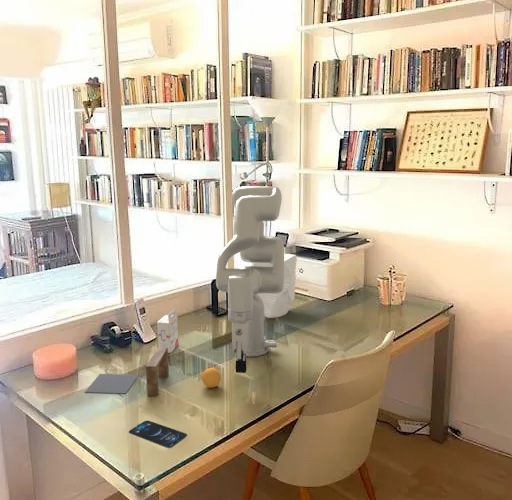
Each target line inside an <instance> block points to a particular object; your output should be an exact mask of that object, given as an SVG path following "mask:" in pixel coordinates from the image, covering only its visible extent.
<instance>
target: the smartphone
mask: <svg viewBox="0 0 512 500" xmlns="http://www.w3.org/2000/svg"><path fill="white" fill-rule="evenodd" d="M128 434H131V435H133V436H136V437H138V438H140V439H144V440H145V441H148V442H151V443H153V444H157V445H159V446H161V447H164V448H167V449H172V448H173V447H174V446H176V445H177V444H179V443H180V442H182V440H184V439H185V438H186V437H187V436H188V434H187V433H186V432H183V431H180V430H178V429H177V430H176V429H175V428H172V427H169V426H165V425H162V424H159V423H157V422H154V421H151V420H144V421H142V422H141V423H139V424H137V425H136V426H134V427H133V428H131V429H129V431H128Z"/></svg>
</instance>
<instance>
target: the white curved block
mask: <svg viewBox="0 0 512 500" xmlns="http://www.w3.org/2000/svg"><path fill="white" fill-rule="evenodd" d="M249 266H261V267H272V264H270V263H252V262H250V264H249ZM296 269H297V254H290V253H284V287H283V290H282V291H281V292H280V293H257V294H258V295H259V296H260V298H261V299H262V301H263V303H264V318H265V317H266V318H269V319H275V318H279V317H283V316H285V315H287V314H288V312H289V310H290V309H291V308H290V307H291V305H292V303H293V301H295V296H296V295H295V293H296Z"/></svg>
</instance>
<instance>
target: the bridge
mask: <svg viewBox="0 0 512 500" xmlns="http://www.w3.org/2000/svg"><path fill="white" fill-rule="evenodd" d="M169 370H170V369H169V353H168V347H159V346H158V347H157V349H156V350H155V352H154V353H153V355H152V356H151V358H150V359H149V361H148V362H147V364H146V365H145V371H146V372H145V376H146V393H147V395H146V396H147V397H158V395H159V393H160V391H159V390H160V388H159V387H160V386H159V378H167V379H168V377H169V375H170V373H169V372H170V371H169Z"/></svg>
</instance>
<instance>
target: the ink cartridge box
mask: <svg viewBox="0 0 512 500" xmlns="http://www.w3.org/2000/svg"><path fill="white" fill-rule="evenodd" d="M156 326H157V342H158V347H168V354H171V353H172V352H173V351H174V350H175V349H176V347H178V346H179V332H178V330H179V328H178V327H179V326H178V313H177V308H175V307H174V309H173V310H171V311H170V312H169V313H168V314H165V315H164V316H162V317H161V318H160V319H159V320H158V321H157V322H156Z"/></svg>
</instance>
